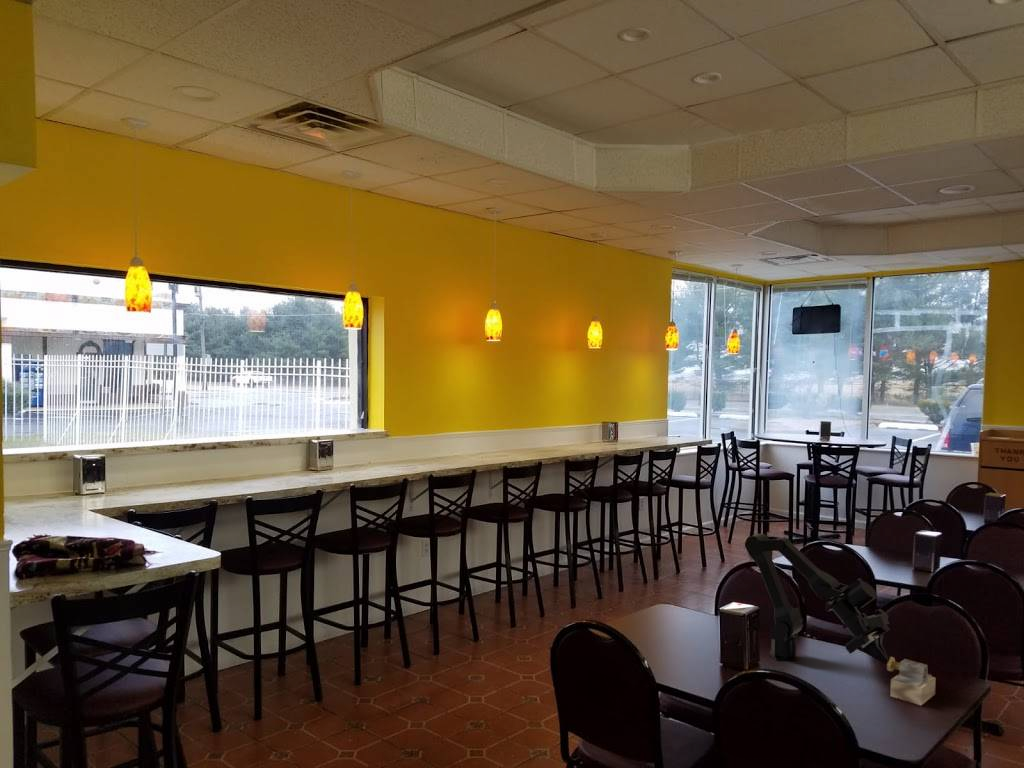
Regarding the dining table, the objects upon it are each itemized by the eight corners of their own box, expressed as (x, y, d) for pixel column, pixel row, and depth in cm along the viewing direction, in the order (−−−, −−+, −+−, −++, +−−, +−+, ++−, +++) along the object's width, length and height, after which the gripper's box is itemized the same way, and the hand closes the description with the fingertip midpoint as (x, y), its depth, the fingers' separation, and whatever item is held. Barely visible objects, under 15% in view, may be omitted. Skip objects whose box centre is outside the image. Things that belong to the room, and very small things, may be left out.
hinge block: (890, 696, 213) (891, 664, 213) (905, 685, 221) (905, 654, 221) (921, 705, 208) (922, 673, 207) (935, 694, 215) (936, 662, 215)
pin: (886, 672, 218) (887, 658, 217) (892, 668, 220) (892, 655, 220) (921, 682, 211) (921, 668, 211) (926, 678, 214) (926, 664, 214)
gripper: (857, 608, 216) (897, 658, 208) (882, 595, 229) (922, 641, 221) (829, 629, 222) (867, 678, 214) (855, 615, 235) (892, 661, 227)
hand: (888, 664), depth 219 cm, fingers closed, pressing on pin
